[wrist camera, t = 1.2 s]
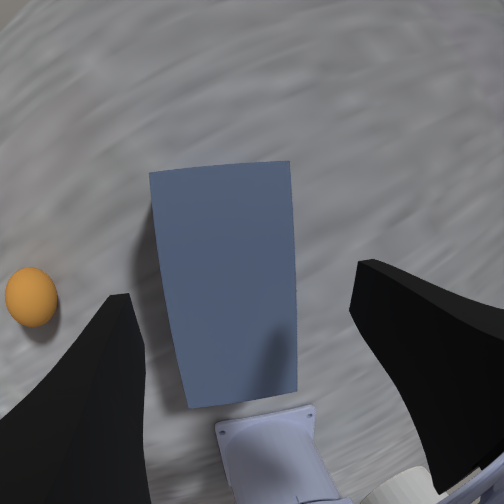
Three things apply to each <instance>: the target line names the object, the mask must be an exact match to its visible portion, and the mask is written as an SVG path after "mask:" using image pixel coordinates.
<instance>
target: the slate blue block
mask: <svg viewBox="0 0 504 504" xmlns="http://www.w3.org/2000/svg"><path fill="white" fill-rule="evenodd" d="M149 179H150V190H151V200H152V210H153V218H154V227H155V235H156V243H157V250H158V257H159V264H160V271H161V277H162V283H163V289H164V295H165V301H166V307H167V312H168V318H169V323H170V328H171V333H172V338H173V343H174V348H175V352H176V357H177V362H178V366H179V371H180V375H181V379H182V383H183V388H184V392H185V396H186V400H187V404H188V407H189V409H192V408H201V407H209V406H217V405H224V404H231V403H238V402H244V401H250V400H256V399H262V398H267V397H272V396H277V395H282V394H287V393H292V392H296V391H297V304H296V271H295V246H294V225H293V206H292V189H291V174H290V161H274V162H255V163H240V164H226V165H214V166H203V167H193V168H184V169H175V170H166V171H158V172H150V173H149Z"/></svg>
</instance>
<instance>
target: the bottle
mask: <svg viewBox="0 0 504 504" xmlns="http://www.w3.org/2000/svg"><path fill="white" fill-rule="evenodd" d="M447 496H448V494H447V493H446V492H444V493H442V494H441V495H438V493H437V492H436V490H435V488H434V487H433V482H432V477H431V475H430V474H429V473H428V471H427V470H426V469H425V468H424V467H422V466H417V467H413V468H410V469H408V470H405V471H403V472H401V473H399V474H397V475H396V476H394V477H392V478H390V479H389V480H387V481H386V482H384V483H383V484H381V485H380V486H378V487H377V488H376V489H375V490H373V491H372V492H371V493H370V494H369V495H368V496H367V497H366V498H365V499H364V500H363V501H362V502H361V504H436V503H438V502H440V501H441V500H443V499H444V498H446V497H447Z"/></svg>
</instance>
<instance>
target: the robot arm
mask: <svg viewBox="0 0 504 504" xmlns="http://www.w3.org/2000/svg"><path fill="white" fill-rule="evenodd" d="M349 312H350V314H351V316H352V318H353V320H354V322H355V324H356V326H357V328H358V330H359V332H360V334H361V335H362V337H363V338H364V340H365V341H366V343H367V344H368V346H369V347H370V349H371V350H372V352H373V353H374V355H375V356H376V357H377V359H378V360H379V362H380V363H381V365H382V366H383V368H384V369H385V371H386V372H387V373H388V375H389V376H390V378H391V379H392V381H393V382H394V384H395V386H396V387H397V389H398V391H399V393H400V395H401V397H402V399H403V401H404V403H405V405H406V407H407V409H408V411H409V413H410V415H411V418H412V420H413V422H414V425H415V427H416V430H417V432H418V435H419V437H420V440H421V443H422V446H423V449H424V452H425V455H426V458H427V462H428V465H429V469H430V473H431V477H432V482H433V487H434V488H435V490H436V492H437V493H438V495H441V494H442V493H444V492H445V491H447V490H448V489H450V488H451V487H453V486H454V485H456V484H457V483H458V482H460V481H461V480H463V479H464V478H465V477H467V476H468V475H469V474H471V473H472V472H473V471H475V470H476V469H477V468H479V467H480V468H481V470H482V471H481V472H480V473H479V474H477V475H476V476H475V477H474V478H472V479H471V480H469V481H468V482H467V483H465V484H464V485H463V486H461V487H460V488H459V489H457V490H456V491H454V492H453V493H452V494H450V495H449V496H447V497H446V498H444V499H443V500H441V501H440V502H438V503H436V504H471V503H472V502H473V501H475V500H476V499H477V498H478V497H479V496H481V498H480V502H479V503H478V504H504V309H500V308H496V307H492V306H489V305H485V304H482V303H479V302H476V301H473V300H471V299H468V298H465V297H462V296H460V295H457V294H455V293H452V292H450V291H448V290H445V289H443V288H440V287H438V286H436V285H434V284H431V283H429V282H427V281H425V280H423V279H420V278H418V277H416V276H414V275H412V274H409V273H407V272H405V271H403V270H401V269H398V268H396V267H394V266H391V265H389V264H386V263H384V262H381V261H378V260H375V259H370V260H363V261H358V265H357V271H356V276H355V282H354V287H353V293H352V298H351V303H350V308H349ZM145 377H146V369H145V347H144V342H143V338H142V335H141V332H140V329H139V326H138V322H137V319H136V316H135V312H134V309H133V305H132V302H131V298H130V295H129V293H125V294H117V295H110V296H109V297H108V298H107V299H106V301H105V302H104V303H103V304H102V306H101V307H100V308H99V310H98V311H97V313H96V314H95V315H94V317H93V318H92V319H91V321H90V322H89V323H88V325H87V326H86V327H85V329H84V330H83V331H82V333H81V334H80V335H79V337H78V338H77V339H76V341H75V342H74V343H73V344H72V345H71V347H70V348H69V349H68V350H67V352H66V353H65V354H64V355H63V357H62V358H61V359H60V360H59V362H58V363H57V364H56V365H55V366H54V367H53V369H52V370H51V371H50V372H49V373H48V374H47V375H46V377H45V378H44V379H43V380H42V381H41V382H40V383H39V384H38V385H37V386H36V387H35V388H34V389H33V390H32V391H31V392H30V393H29V394H28V395H27V396H26V397H25V398H24V399H23V400H22V401H21V402H19V403H18V404H17V405H16V406H15V407H14V408H13V409H12V410H11V411H10V412H9V413H8V414H7V415H5V416H4V417H3V418H2V419H1V420H0V504H151V500H150V494H149V488H148V482H147V476H146V468H145V460H144V451H143V414H144V394H145ZM308 414H309V415H308ZM314 424H315V407H314V406H313V405H306V406H301V407H297V408H293V409H288V410H284V411H279V412H274V413H269V414H264V415H258V416H253V417H247V418H241V419H234V420H227V421H220V422H217V423H216V424H215V431H216V436H217V440H218V444H219V449H220V453H221V457H222V461H223V465H224V469H225V473H226V477H227V481H228V485H229V486H230V487H232V488H233V493H234V498H235V502H236V504H353V502H352V500H351V499H350V497H346V498H343V499H342V497H341V495H340V493H339V491H338V489H337V487H336V485H335V483H334V482H333V480H332V478H331V476H330V474H329V472H328V470H327V468H326V466H325V464H324V462H323V460H322V458H321V457H320V455H319V453H318V451H317V449H316V447H315V445H314V443H313V437H314ZM220 431H223V432H220Z"/></svg>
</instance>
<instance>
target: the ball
mask: <svg viewBox="0 0 504 504" xmlns="http://www.w3.org/2000/svg"><path fill="white" fill-rule="evenodd" d="M5 302H6V306H7V309H8V311H9V313H10V314H11V316H12V317H13V318H14V319H15V320H16V321H17V322H18V323H20V324H22V325H24V326H27V327H38V326H41V325H43V324H45V323H46V322H48V321H49V320H50V319H51V317H52V316H53V314H54V312H55V310H56V307H57V291H56V287H55V285H54V283H53V281H52V280H51V278H50V277H49V276H48V275H47V274H46V273H45V272H43V271H41V270H39V269H36V268H23V269H21V270H18V271H17V272H16V273H14V274H13V275H12V277H11V278H10V279H9V281H8V283H7V286H6V290H5Z"/></svg>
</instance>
